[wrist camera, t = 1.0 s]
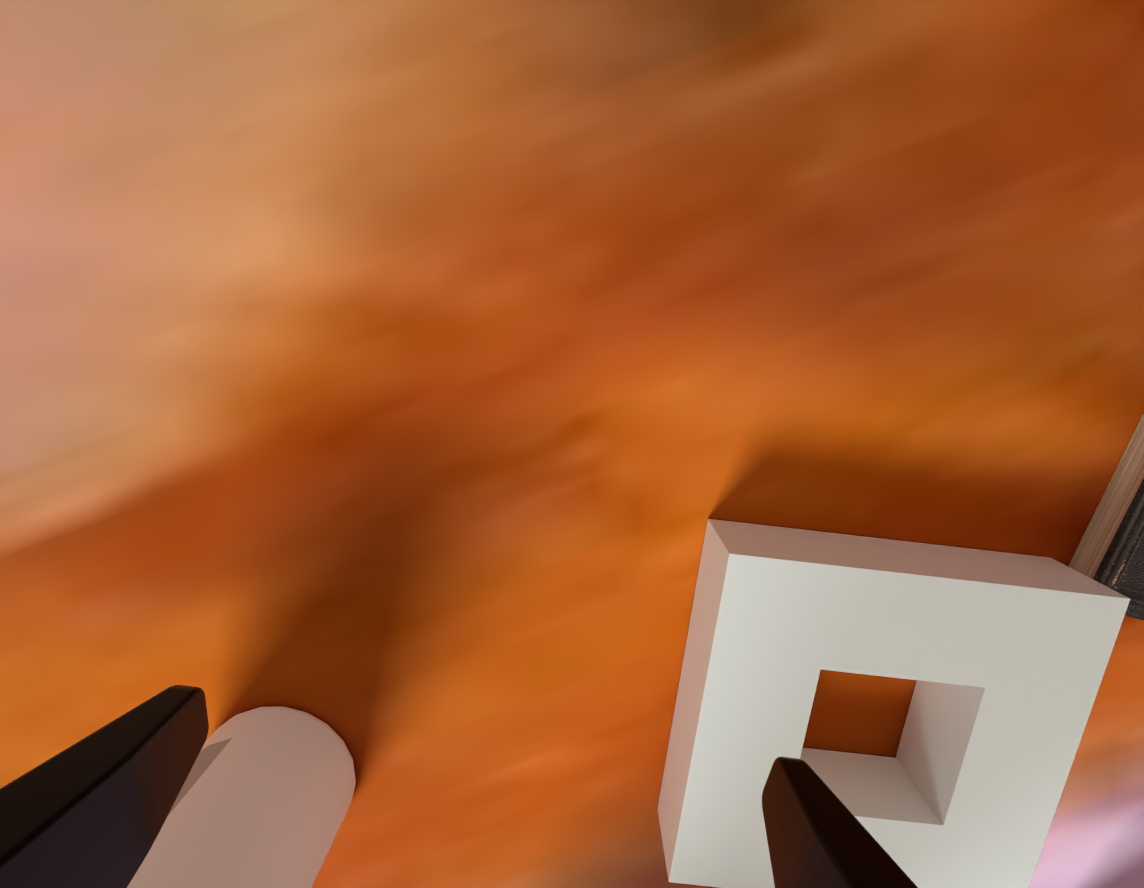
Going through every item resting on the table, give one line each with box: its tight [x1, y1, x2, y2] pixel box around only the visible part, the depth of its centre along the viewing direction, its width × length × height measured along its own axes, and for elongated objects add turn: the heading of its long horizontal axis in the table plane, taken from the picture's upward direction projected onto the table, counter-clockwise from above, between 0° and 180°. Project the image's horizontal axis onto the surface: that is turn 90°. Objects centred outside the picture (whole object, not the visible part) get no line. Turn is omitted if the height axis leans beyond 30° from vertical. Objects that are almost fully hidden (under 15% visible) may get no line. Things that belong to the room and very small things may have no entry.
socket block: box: [657, 519, 1130, 888], centre depth 23 cm, size 14×14×4 cm
